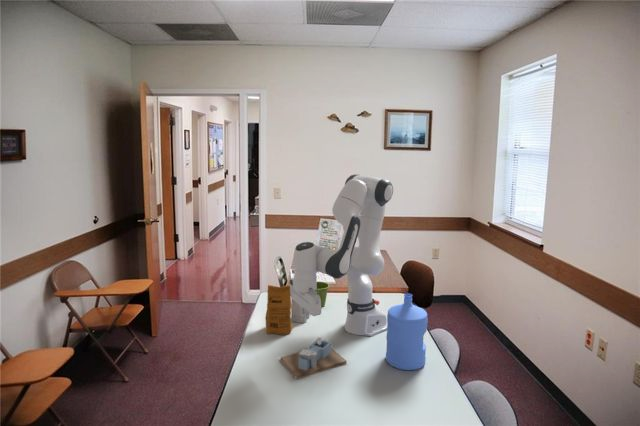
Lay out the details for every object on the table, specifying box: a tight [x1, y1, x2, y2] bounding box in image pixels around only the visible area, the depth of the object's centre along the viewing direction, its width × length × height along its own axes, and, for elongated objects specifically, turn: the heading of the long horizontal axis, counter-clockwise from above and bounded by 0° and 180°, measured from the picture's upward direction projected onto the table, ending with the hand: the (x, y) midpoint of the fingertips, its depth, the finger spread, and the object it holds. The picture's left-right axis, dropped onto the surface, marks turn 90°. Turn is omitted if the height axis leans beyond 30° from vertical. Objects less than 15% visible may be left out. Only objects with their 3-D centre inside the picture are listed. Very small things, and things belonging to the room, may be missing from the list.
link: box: [299, 339, 332, 371], centre depth 172 cm, size 17×6×4 cm, turn 151°
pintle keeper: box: [299, 337, 323, 369], centre depth 171 cm, size 16×6×6 cm, turn 157°
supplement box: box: [291, 298, 308, 324], centre depth 210 cm, size 7×7×13 cm
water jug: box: [385, 293, 428, 371], centre depth 171 cm, size 16×16×28 cm
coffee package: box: [265, 284, 293, 336], centre depth 198 cm, size 10×12×22 cm
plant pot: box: [315, 281, 330, 308], centre depth 227 cm, size 12×12×11 cm
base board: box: [279, 347, 347, 379], centre depth 172 cm, size 22×15×1 cm
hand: (305, 317), depth 169 cm, fingers closed
